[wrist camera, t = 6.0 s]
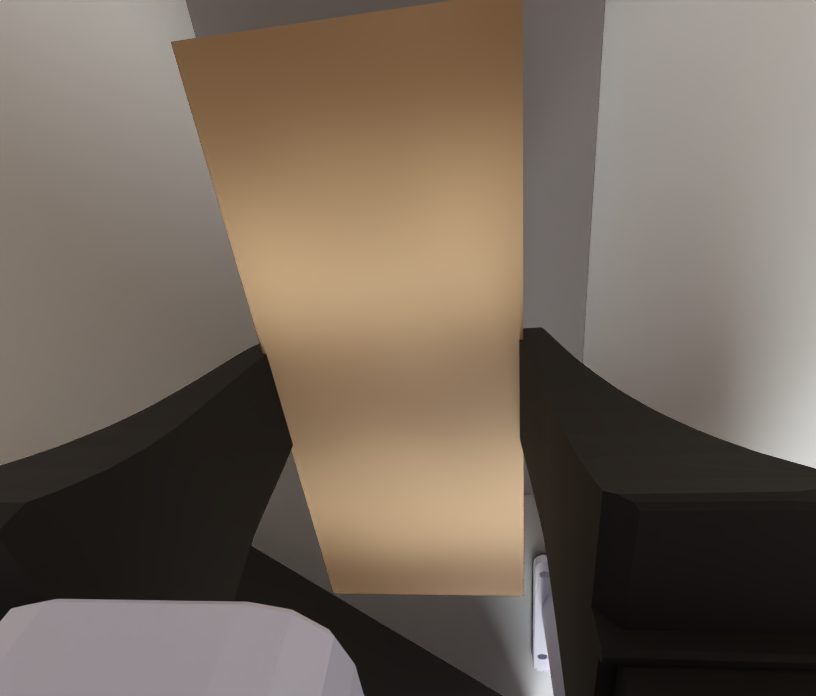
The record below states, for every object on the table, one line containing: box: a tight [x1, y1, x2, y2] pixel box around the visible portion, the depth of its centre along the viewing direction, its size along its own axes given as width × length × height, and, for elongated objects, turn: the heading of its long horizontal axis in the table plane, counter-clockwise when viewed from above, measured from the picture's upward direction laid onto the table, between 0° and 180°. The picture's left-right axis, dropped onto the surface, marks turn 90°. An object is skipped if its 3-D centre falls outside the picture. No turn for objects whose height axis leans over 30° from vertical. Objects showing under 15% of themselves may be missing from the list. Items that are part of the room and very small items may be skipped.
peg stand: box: [186, 0, 605, 495], centre depth 16 cm, size 20×11×4 cm, turn 6°
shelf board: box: [171, 0, 524, 596], centre depth 13 cm, size 14×6×4 cm, turn 6°
